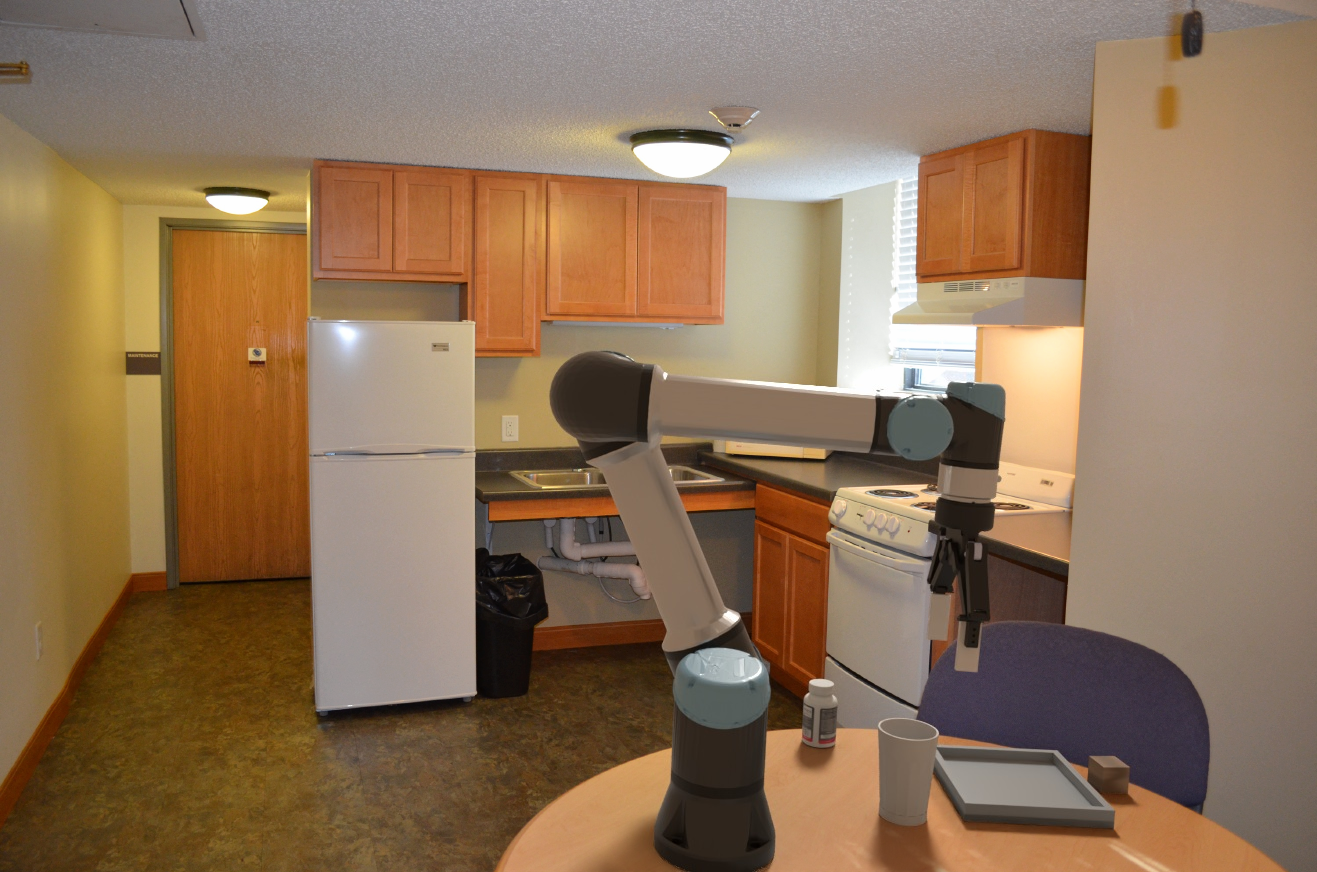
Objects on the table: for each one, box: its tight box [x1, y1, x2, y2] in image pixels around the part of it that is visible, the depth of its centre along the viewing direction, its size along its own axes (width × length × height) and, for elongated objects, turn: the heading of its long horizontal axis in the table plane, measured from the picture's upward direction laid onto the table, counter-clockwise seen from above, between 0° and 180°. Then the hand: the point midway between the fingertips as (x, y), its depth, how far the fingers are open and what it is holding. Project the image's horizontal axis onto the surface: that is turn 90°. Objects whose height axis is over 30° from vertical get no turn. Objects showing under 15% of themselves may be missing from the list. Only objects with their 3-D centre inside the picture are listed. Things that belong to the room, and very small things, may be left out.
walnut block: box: [1086, 755, 1131, 794], centre depth 143 cm, size 4×4×4 cm
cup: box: [877, 717, 940, 827], centre depth 131 cm, size 8×8×12 cm
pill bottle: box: [801, 678, 839, 749], centre depth 155 cm, size 5×5×10 cm
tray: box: [933, 744, 1116, 829], centre depth 140 cm, size 20×20×2 cm
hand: (950, 654), depth 130 cm, fingers open, 13 cm apart
